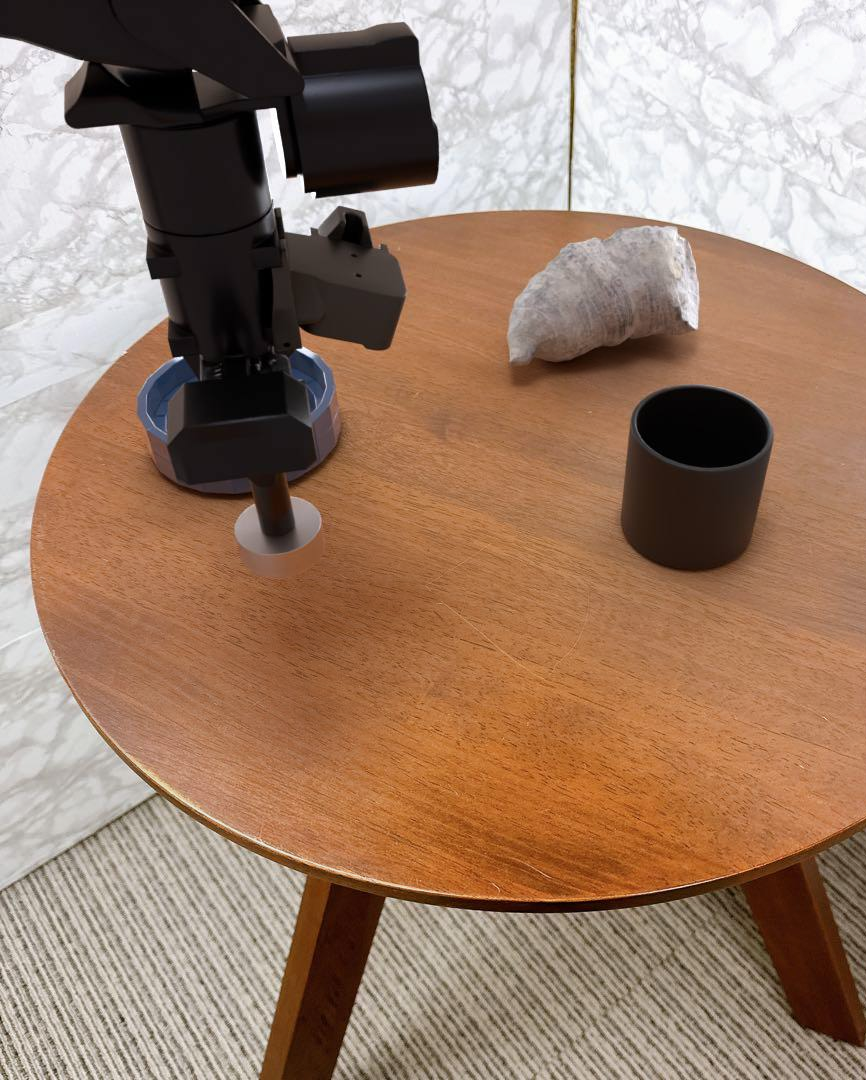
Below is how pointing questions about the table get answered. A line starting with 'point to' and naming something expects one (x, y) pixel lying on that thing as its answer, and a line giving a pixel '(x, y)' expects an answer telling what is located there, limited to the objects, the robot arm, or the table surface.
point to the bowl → (178, 372)
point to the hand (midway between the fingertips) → (265, 471)
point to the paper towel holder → (279, 533)
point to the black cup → (694, 475)
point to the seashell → (606, 295)
